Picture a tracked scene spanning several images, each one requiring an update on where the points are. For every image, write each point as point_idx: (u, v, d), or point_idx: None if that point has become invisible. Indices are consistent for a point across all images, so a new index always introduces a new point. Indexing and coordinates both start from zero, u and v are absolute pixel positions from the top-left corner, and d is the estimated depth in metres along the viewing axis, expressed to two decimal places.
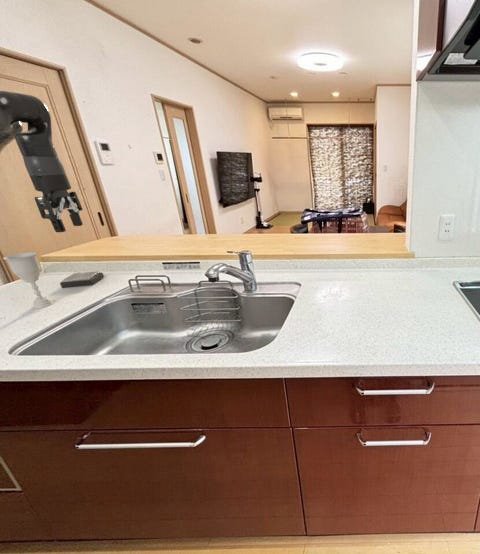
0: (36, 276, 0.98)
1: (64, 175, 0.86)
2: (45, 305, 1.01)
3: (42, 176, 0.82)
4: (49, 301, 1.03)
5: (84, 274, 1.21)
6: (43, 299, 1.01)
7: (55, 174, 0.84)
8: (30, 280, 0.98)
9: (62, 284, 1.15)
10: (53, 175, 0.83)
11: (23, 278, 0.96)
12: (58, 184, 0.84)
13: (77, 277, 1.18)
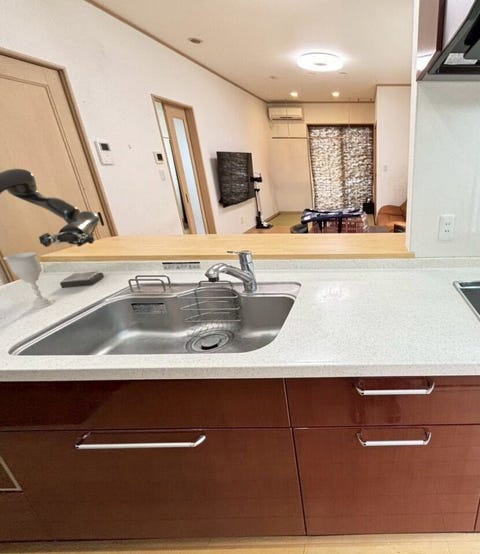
0: (36, 276, 0.98)
1: None
2: (45, 305, 1.01)
3: (87, 234, 1.21)
4: (49, 301, 1.03)
5: (84, 274, 1.21)
6: (43, 299, 1.01)
7: None
8: (30, 280, 0.98)
9: (62, 284, 1.15)
10: None
11: (23, 278, 0.96)
12: None
13: (77, 277, 1.18)
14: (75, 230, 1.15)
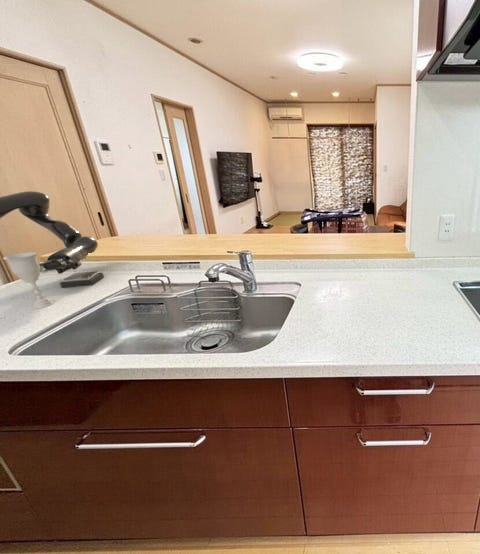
0: (36, 276, 0.98)
1: None
2: (45, 305, 1.01)
3: None
4: (49, 301, 1.03)
5: (84, 274, 1.21)
6: (43, 299, 1.01)
7: None
8: (30, 280, 0.98)
9: (62, 284, 1.15)
10: None
11: (23, 278, 0.96)
12: None
13: (77, 277, 1.18)
14: (62, 257, 1.14)
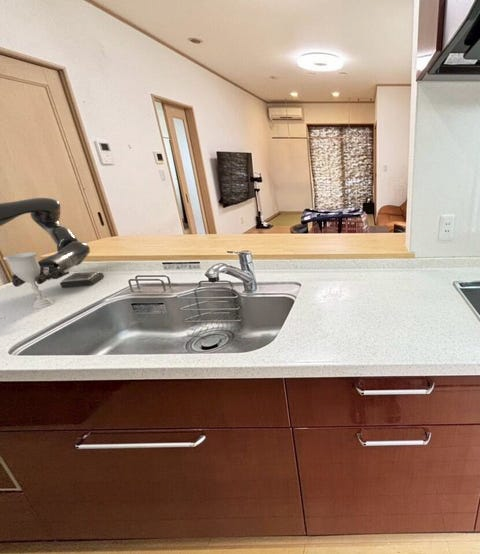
0: (36, 276, 0.98)
1: None
2: (45, 305, 1.01)
3: (67, 267, 1.12)
4: (49, 301, 1.03)
5: (84, 274, 1.21)
6: (43, 299, 1.01)
7: None
8: (30, 280, 0.98)
9: (62, 284, 1.15)
10: None
11: (23, 278, 0.96)
12: None
13: (77, 277, 1.18)
14: (50, 264, 1.07)
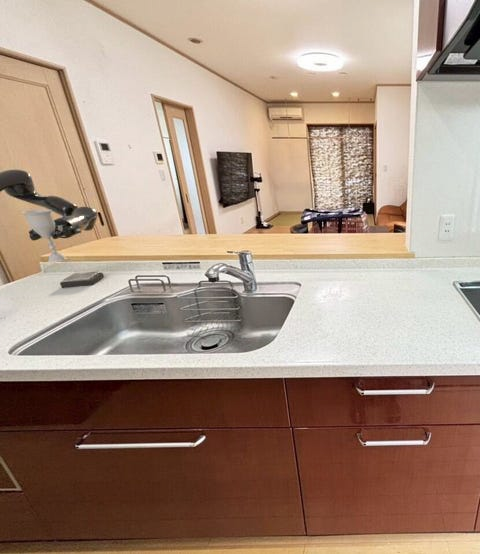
0: (51, 231, 1.05)
1: None
2: (59, 260, 1.08)
3: None
4: (63, 257, 1.09)
5: (84, 274, 1.21)
6: (58, 254, 1.08)
7: (76, 233, 1.19)
8: (46, 235, 1.04)
9: (62, 284, 1.15)
10: None
11: (39, 232, 1.03)
12: (74, 234, 1.17)
13: (77, 277, 1.18)
14: (63, 223, 1.13)
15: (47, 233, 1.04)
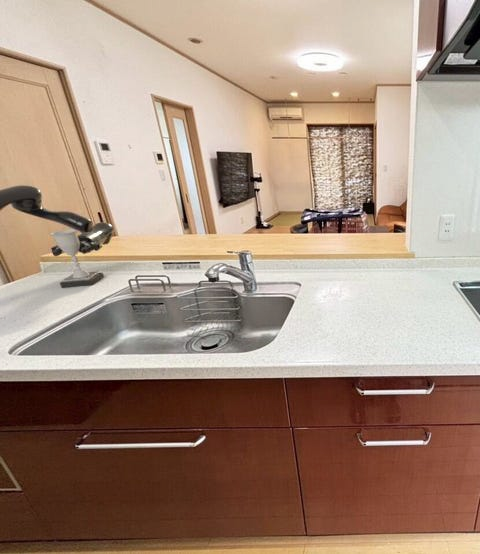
0: (76, 250, 1.16)
1: None
2: (83, 275, 1.18)
3: None
4: (86, 272, 1.20)
5: None
6: (81, 270, 1.18)
7: None
8: (71, 253, 1.15)
9: (62, 284, 1.15)
10: None
11: (66, 251, 1.13)
12: None
13: None
14: (84, 239, 1.23)
15: (73, 251, 1.15)
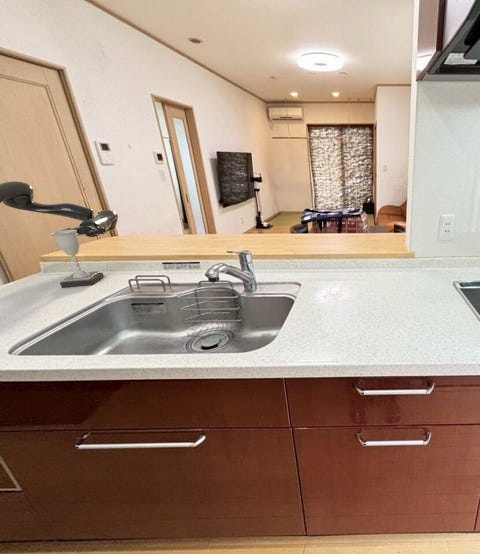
0: (76, 250, 1.16)
1: None
2: (83, 275, 1.18)
3: None
4: (86, 272, 1.20)
5: None
6: (81, 270, 1.18)
7: None
8: (71, 253, 1.15)
9: (62, 284, 1.15)
10: None
11: (66, 251, 1.13)
12: None
13: None
14: (91, 224, 1.32)
15: (73, 251, 1.15)
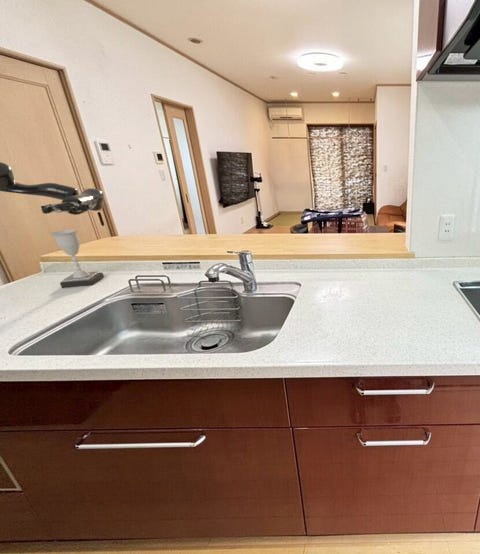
0: (76, 250, 1.16)
1: None
2: (83, 275, 1.18)
3: None
4: (86, 272, 1.20)
5: None
6: (81, 270, 1.18)
7: (86, 211, 1.32)
8: (71, 253, 1.15)
9: (62, 284, 1.15)
10: None
11: (66, 251, 1.13)
12: (84, 211, 1.29)
13: None
14: (74, 201, 1.26)
15: (73, 251, 1.15)
